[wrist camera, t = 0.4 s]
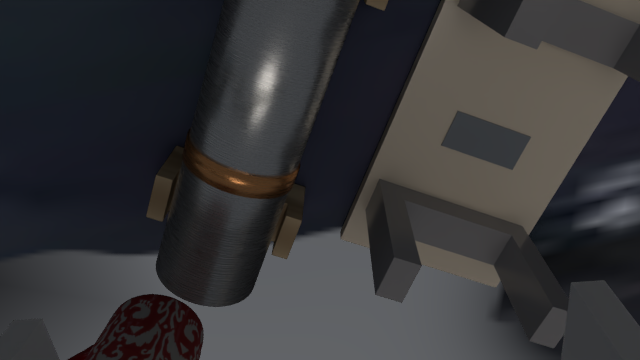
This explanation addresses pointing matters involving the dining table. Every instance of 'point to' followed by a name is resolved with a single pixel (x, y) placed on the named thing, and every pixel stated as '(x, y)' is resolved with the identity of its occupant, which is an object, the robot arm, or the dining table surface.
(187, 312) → the mug
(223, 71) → the tube
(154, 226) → the dining table surface
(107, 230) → the dining table surface
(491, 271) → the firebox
